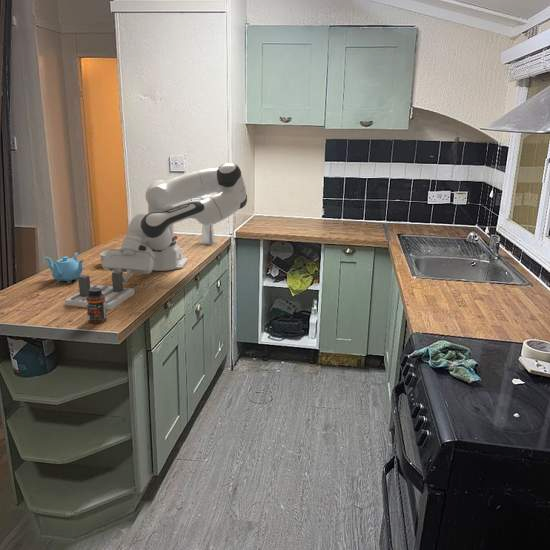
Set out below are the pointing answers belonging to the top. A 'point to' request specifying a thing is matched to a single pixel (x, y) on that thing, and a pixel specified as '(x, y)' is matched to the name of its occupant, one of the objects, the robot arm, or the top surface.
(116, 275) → the switch tab
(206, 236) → the skyscraper
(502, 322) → the top surface
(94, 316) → the supplement bottle
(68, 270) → the teapot
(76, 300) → the white board with strips
